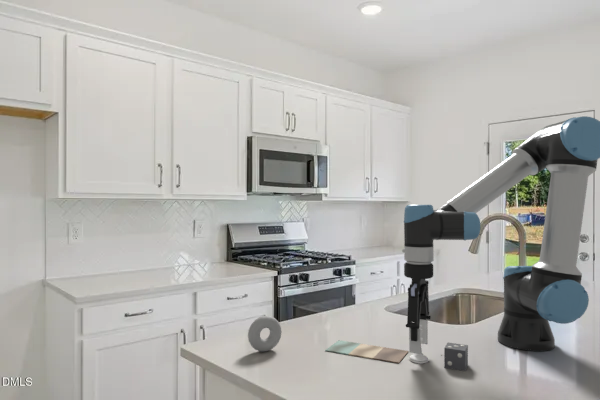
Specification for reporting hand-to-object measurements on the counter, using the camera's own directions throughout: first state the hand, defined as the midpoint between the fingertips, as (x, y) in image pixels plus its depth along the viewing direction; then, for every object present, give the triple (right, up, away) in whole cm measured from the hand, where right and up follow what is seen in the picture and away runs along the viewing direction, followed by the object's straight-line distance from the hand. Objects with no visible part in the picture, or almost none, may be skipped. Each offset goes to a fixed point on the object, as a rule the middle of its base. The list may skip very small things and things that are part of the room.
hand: (418, 347), depth 118 cm
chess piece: (0, -3, 0) cm, 3 cm away
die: (+8, -3, -4) cm, 10 cm away
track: (-13, -3, +7) cm, 15 cm away
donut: (-42, -4, +7) cm, 42 cm away
